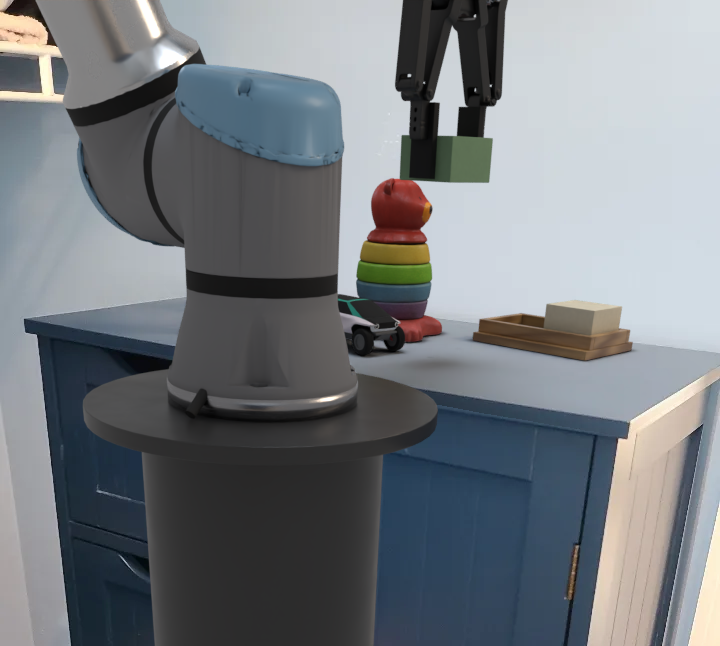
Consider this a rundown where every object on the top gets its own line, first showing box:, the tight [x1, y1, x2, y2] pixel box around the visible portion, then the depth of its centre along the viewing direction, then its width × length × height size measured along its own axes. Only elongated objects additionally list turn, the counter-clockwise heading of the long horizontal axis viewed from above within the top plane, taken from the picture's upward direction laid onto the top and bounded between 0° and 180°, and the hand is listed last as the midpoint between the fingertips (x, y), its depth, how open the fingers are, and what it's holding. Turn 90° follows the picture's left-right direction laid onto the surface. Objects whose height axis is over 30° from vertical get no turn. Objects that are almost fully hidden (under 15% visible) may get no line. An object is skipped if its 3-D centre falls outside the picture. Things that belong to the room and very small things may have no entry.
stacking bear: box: [355, 177, 443, 343], centre depth 116 cm, size 11×10×18 cm
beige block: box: [544, 299, 623, 336], centre depth 113 cm, size 6×6×4 cm
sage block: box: [399, 134, 494, 184], centre depth 95 cm, size 6×6×4 cm
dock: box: [472, 312, 634, 362], centre depth 116 cm, size 11×16×2 cm
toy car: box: [338, 293, 406, 356], centre depth 110 cm, size 6×12×5 cm, turn 42°
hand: (444, 178), depth 96 cm, fingers closed on sage block, 6 cm apart
